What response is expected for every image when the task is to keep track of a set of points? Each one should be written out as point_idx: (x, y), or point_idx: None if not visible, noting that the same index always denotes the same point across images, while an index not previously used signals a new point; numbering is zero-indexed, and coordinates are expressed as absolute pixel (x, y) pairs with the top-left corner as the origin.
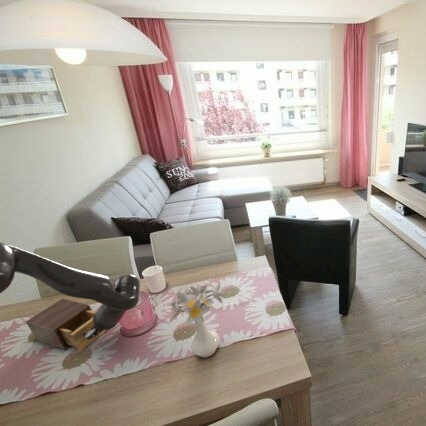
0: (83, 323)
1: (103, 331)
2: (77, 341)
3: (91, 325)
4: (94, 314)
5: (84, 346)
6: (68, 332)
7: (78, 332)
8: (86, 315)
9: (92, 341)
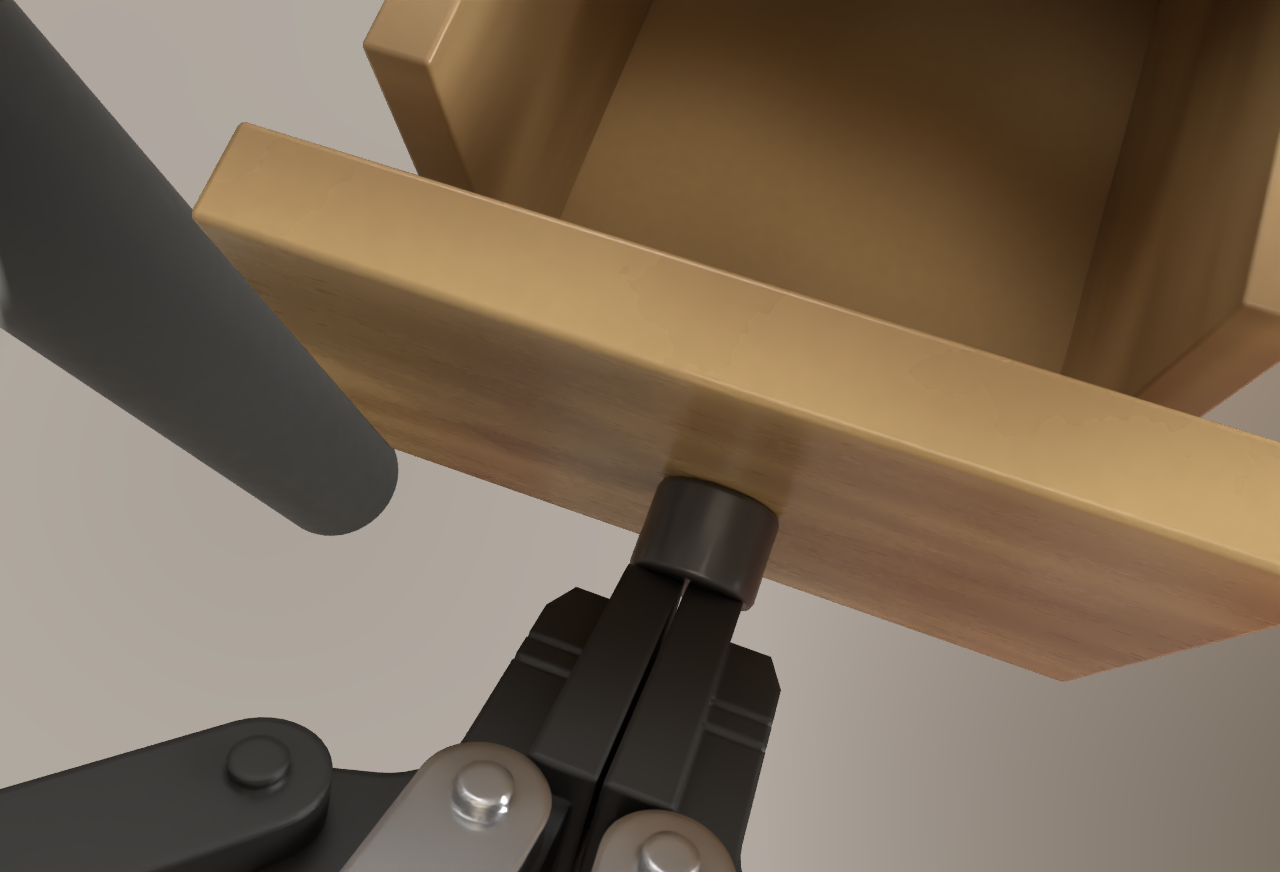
0: (1110, 34)
1: (900, 622)
2: (335, 362)
3: (771, 462)
4: (1226, 289)
5: (467, 465)
6: (379, 17)
7: (372, 304)
8: (1234, 11)
9: (630, 529)
